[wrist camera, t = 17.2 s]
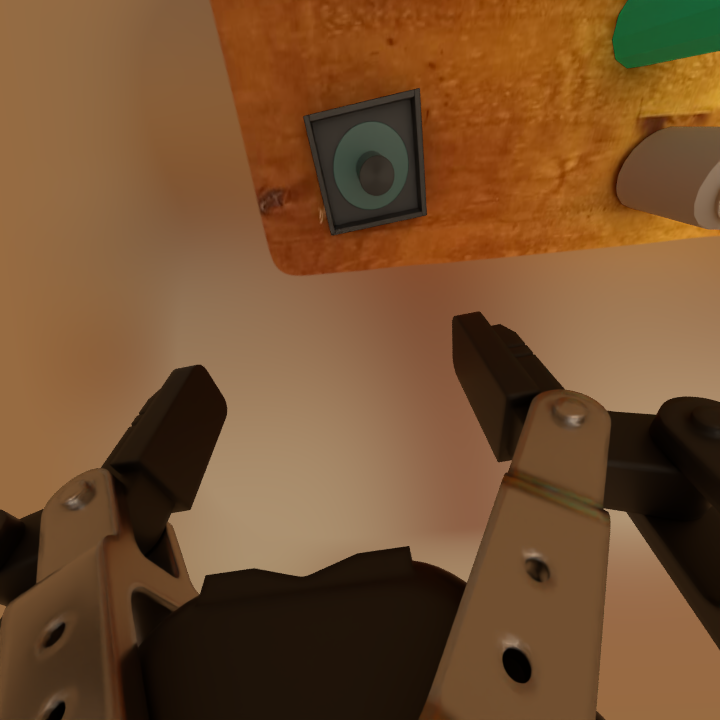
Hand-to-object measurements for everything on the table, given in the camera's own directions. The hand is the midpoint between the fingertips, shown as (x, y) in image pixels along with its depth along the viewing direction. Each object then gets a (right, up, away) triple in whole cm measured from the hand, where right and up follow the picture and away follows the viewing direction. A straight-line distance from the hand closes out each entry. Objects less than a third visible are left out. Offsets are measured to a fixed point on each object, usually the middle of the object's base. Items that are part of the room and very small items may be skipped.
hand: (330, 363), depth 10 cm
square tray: (+2, +20, +23) cm, 30 cm away
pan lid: (+2, +20, +22) cm, 29 cm away
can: (+32, +21, +24) cm, 46 cm away
